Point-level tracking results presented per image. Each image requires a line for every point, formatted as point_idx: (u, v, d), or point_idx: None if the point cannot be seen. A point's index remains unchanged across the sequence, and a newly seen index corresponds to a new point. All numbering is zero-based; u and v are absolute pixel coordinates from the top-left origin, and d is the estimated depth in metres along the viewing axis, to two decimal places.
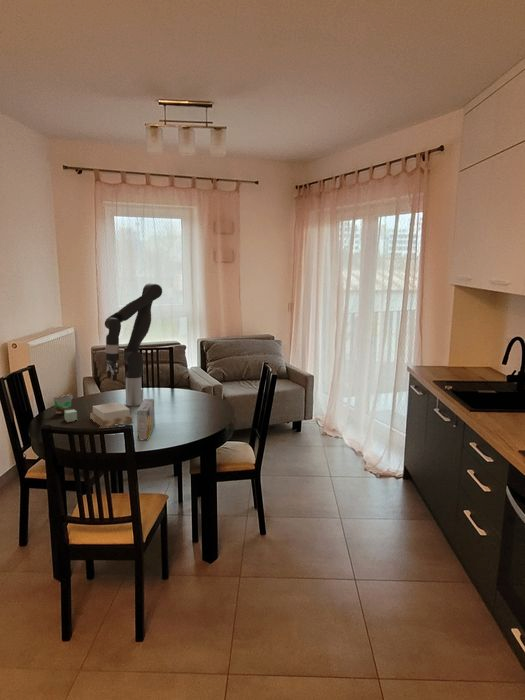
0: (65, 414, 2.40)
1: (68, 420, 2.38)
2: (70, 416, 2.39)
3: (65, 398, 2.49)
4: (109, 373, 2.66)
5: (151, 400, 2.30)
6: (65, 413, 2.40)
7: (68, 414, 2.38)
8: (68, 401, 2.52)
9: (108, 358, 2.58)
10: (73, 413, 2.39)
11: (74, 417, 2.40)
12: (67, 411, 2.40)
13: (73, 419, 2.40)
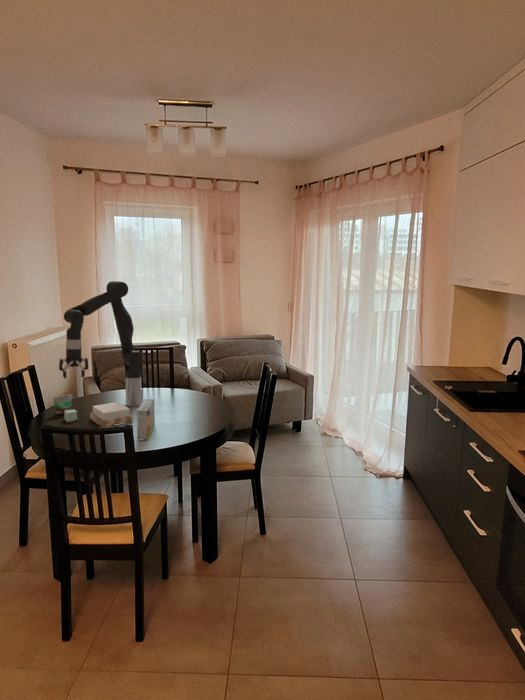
0: (65, 414, 2.40)
1: (68, 420, 2.38)
2: (70, 416, 2.39)
3: (65, 398, 2.49)
4: None
5: (151, 400, 2.30)
6: (65, 413, 2.40)
7: (68, 414, 2.38)
8: (68, 401, 2.52)
9: (79, 354, 2.37)
10: (73, 413, 2.39)
11: (74, 417, 2.40)
12: (67, 411, 2.40)
13: (73, 419, 2.40)
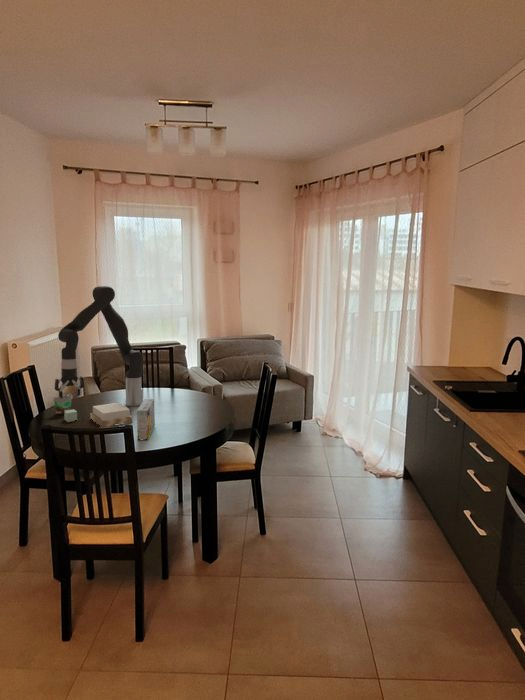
0: (65, 414, 2.40)
1: (68, 420, 2.38)
2: (70, 416, 2.39)
3: (65, 398, 2.49)
4: None
5: (151, 400, 2.30)
6: (65, 413, 2.40)
7: (68, 414, 2.38)
8: (68, 401, 2.52)
9: (75, 373, 2.37)
10: (73, 413, 2.39)
11: (74, 417, 2.40)
12: (67, 411, 2.40)
13: (73, 419, 2.40)
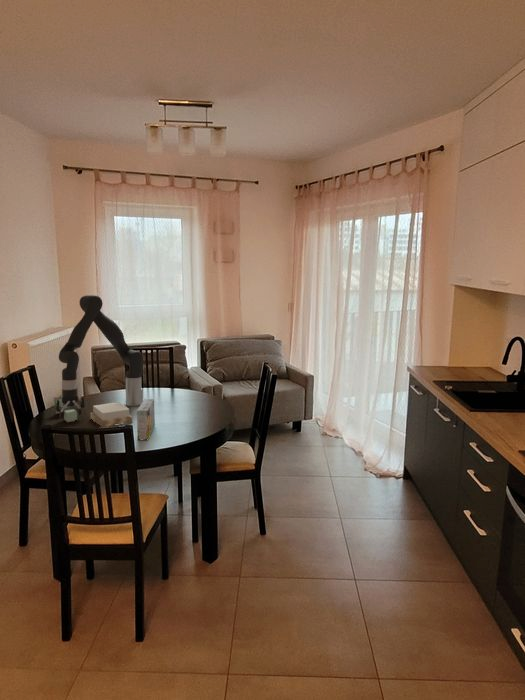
0: (65, 414, 2.40)
1: (68, 420, 2.38)
2: (70, 416, 2.39)
3: None
4: None
5: (151, 400, 2.30)
6: (65, 413, 2.40)
7: (68, 414, 2.38)
8: None
9: (76, 394, 2.38)
10: (73, 413, 2.39)
11: (74, 417, 2.40)
12: (67, 411, 2.40)
13: (73, 419, 2.40)
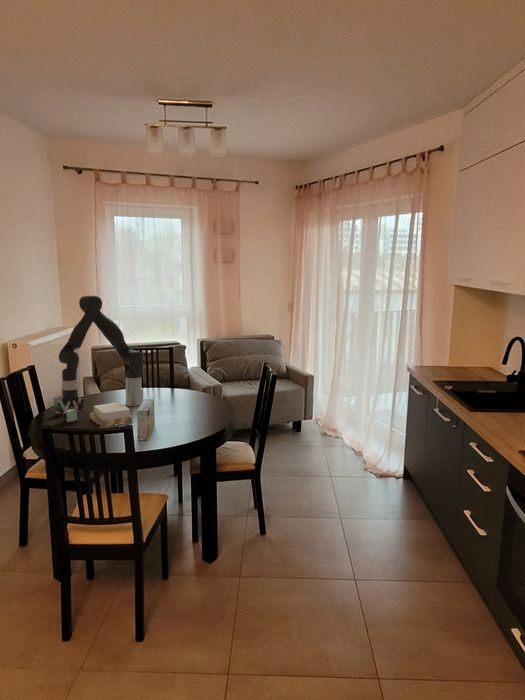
0: None
1: (68, 420, 2.38)
2: (70, 416, 2.39)
3: None
4: None
5: (151, 400, 2.30)
6: None
7: (68, 414, 2.38)
8: None
9: (76, 394, 2.38)
10: (73, 413, 2.39)
11: (74, 416, 2.40)
12: (67, 411, 2.40)
13: (73, 419, 2.40)
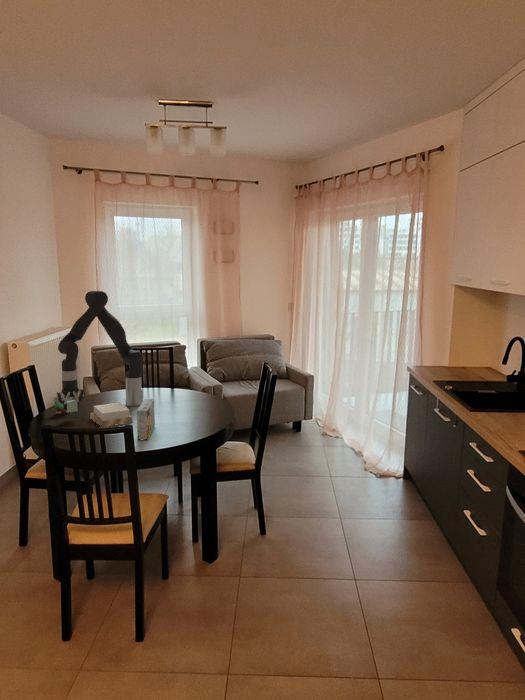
0: None
1: (68, 410, 2.38)
2: (70, 406, 2.38)
3: None
4: None
5: (151, 400, 2.30)
6: None
7: (68, 404, 2.37)
8: None
9: (76, 385, 2.38)
10: (73, 403, 2.39)
11: (74, 407, 2.39)
12: (67, 402, 2.39)
13: (73, 409, 2.39)
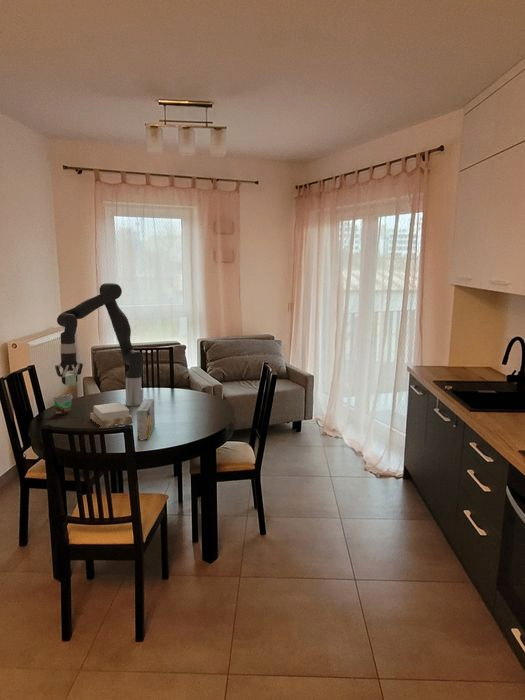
0: None
1: (67, 384, 2.35)
2: (69, 380, 2.36)
3: (65, 398, 2.49)
4: None
5: (151, 400, 2.30)
6: None
7: (67, 378, 2.35)
8: (68, 401, 2.52)
9: (75, 358, 2.35)
10: (72, 377, 2.36)
11: (73, 381, 2.37)
12: (66, 375, 2.37)
13: (72, 383, 2.37)
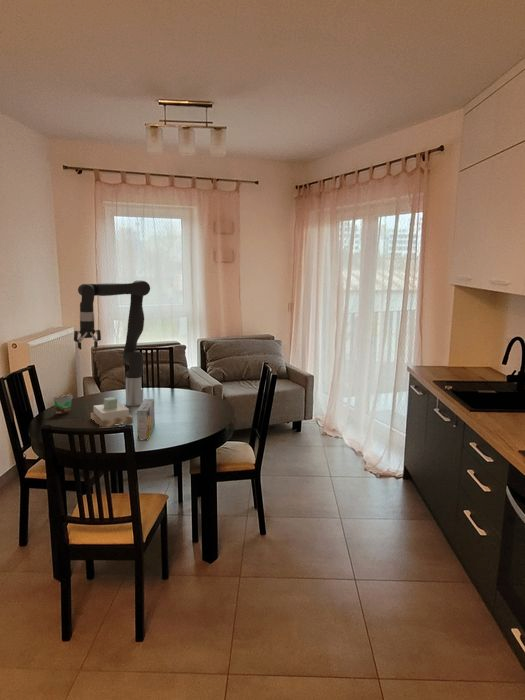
0: (105, 402, 2.39)
1: (109, 407, 2.38)
2: (111, 403, 2.38)
3: (65, 398, 2.49)
4: None
5: (151, 400, 2.30)
6: (105, 401, 2.39)
7: (109, 401, 2.37)
8: (68, 401, 2.52)
9: (93, 326, 2.51)
10: (113, 400, 2.39)
11: (114, 404, 2.40)
12: (107, 399, 2.39)
13: (113, 406, 2.39)
